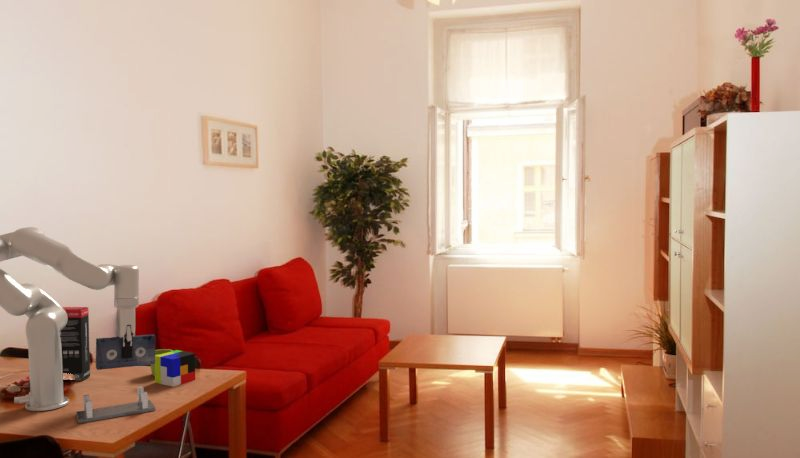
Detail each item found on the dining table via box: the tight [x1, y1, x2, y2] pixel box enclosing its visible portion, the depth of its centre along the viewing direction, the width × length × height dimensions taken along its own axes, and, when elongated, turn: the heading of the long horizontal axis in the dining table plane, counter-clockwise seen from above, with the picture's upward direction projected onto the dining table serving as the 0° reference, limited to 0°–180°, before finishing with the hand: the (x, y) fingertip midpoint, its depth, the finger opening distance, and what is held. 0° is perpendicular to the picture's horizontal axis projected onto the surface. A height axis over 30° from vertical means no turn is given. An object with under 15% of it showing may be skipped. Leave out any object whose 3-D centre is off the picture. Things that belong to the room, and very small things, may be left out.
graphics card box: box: [60, 306, 91, 382], centre depth 244 cm, size 17×7×27 cm, turn 92°
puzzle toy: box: [154, 349, 196, 388], centre depth 241 cm, size 10×10×10 cm
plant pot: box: [150, 348, 173, 377], centre depth 251 cm, size 9×9×9 cm
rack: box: [75, 385, 156, 424], centre depth 207 cm, size 22×9×6 cm, turn 122°
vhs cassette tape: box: [95, 333, 156, 371], centre depth 219 cm, size 18×3×10 cm, turn 120°
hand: (125, 356), depth 219 cm, fingers closed on vhs cassette tape, 2 cm apart
